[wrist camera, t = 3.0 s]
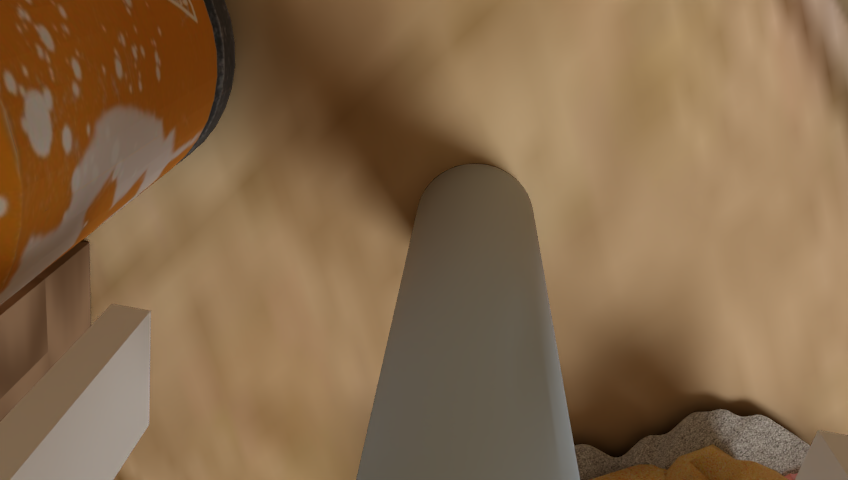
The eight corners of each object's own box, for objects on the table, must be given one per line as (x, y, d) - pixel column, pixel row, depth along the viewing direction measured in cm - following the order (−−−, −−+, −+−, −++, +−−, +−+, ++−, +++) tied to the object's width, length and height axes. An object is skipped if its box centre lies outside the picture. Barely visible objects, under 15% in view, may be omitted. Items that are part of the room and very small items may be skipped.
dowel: (519, 281, 27) (565, 723, 12) (408, 261, 27) (317, 678, 12) (545, 175, 25) (633, 534, 10) (426, 154, 25) (347, 482, 10)
